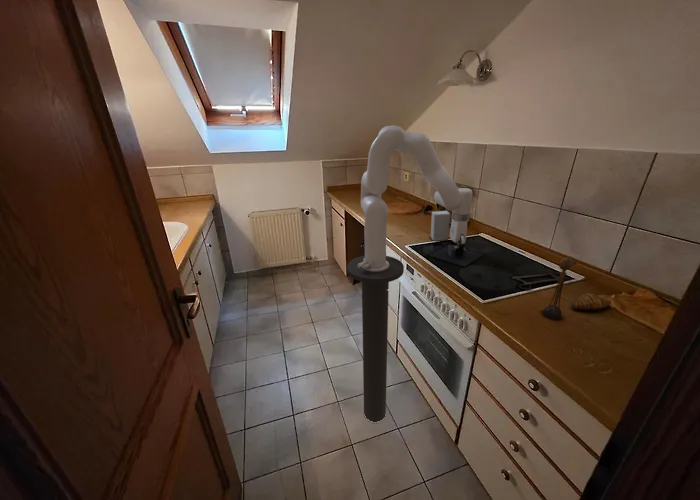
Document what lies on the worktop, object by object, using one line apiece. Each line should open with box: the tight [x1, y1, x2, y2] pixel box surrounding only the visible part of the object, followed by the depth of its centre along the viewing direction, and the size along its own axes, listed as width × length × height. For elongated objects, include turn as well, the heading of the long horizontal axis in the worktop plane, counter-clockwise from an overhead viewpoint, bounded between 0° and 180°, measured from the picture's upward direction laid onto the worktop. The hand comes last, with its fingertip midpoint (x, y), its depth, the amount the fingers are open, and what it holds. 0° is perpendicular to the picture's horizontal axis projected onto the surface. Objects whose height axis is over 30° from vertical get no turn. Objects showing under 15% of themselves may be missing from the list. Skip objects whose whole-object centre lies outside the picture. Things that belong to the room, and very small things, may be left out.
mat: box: [428, 245, 484, 268], centre depth 140 cm, size 18×18×1 cm
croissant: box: [571, 292, 612, 312], centre depth 97 cm, size 14×7×5 cm, turn 100°
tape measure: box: [447, 244, 467, 258], centre depth 139 cm, size 7×6×4 cm
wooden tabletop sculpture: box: [542, 257, 577, 321], centre depth 91 cm, size 6×5×20 cm
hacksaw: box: [511, 270, 572, 291], centre depth 114 cm, size 24×10×2 cm, turn 96°
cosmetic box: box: [430, 210, 451, 242], centre depth 158 cm, size 8×6×15 cm
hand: (456, 252), depth 139 cm, fingers open, 7 cm apart
